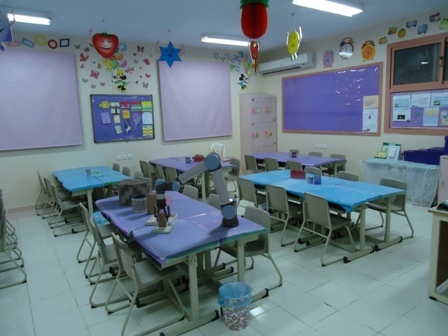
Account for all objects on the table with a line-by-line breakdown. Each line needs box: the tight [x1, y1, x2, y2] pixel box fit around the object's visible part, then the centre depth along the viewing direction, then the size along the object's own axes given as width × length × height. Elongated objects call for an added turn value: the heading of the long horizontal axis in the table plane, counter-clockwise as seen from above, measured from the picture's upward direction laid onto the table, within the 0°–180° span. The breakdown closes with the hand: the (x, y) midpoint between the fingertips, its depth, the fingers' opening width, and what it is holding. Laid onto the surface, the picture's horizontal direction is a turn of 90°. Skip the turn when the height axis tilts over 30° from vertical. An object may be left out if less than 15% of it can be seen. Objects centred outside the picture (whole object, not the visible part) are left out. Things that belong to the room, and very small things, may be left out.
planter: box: [131, 195, 147, 214], centre depth 329 cm, size 16×16×14 cm
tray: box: [145, 213, 179, 226], centre depth 293 cm, size 22×24×4 cm
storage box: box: [116, 177, 153, 207], centre depth 365 cm, size 35×35×23 cm
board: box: [150, 225, 176, 235], centre depth 271 cm, size 16×16×1 cm
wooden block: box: [146, 191, 162, 215], centre depth 318 cm, size 10×10×20 cm
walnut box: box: [156, 210, 166, 228], centre depth 269 cm, size 6×6×12 cm
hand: (162, 225), depth 270 cm, fingers closed on walnut box, 6 cm apart
